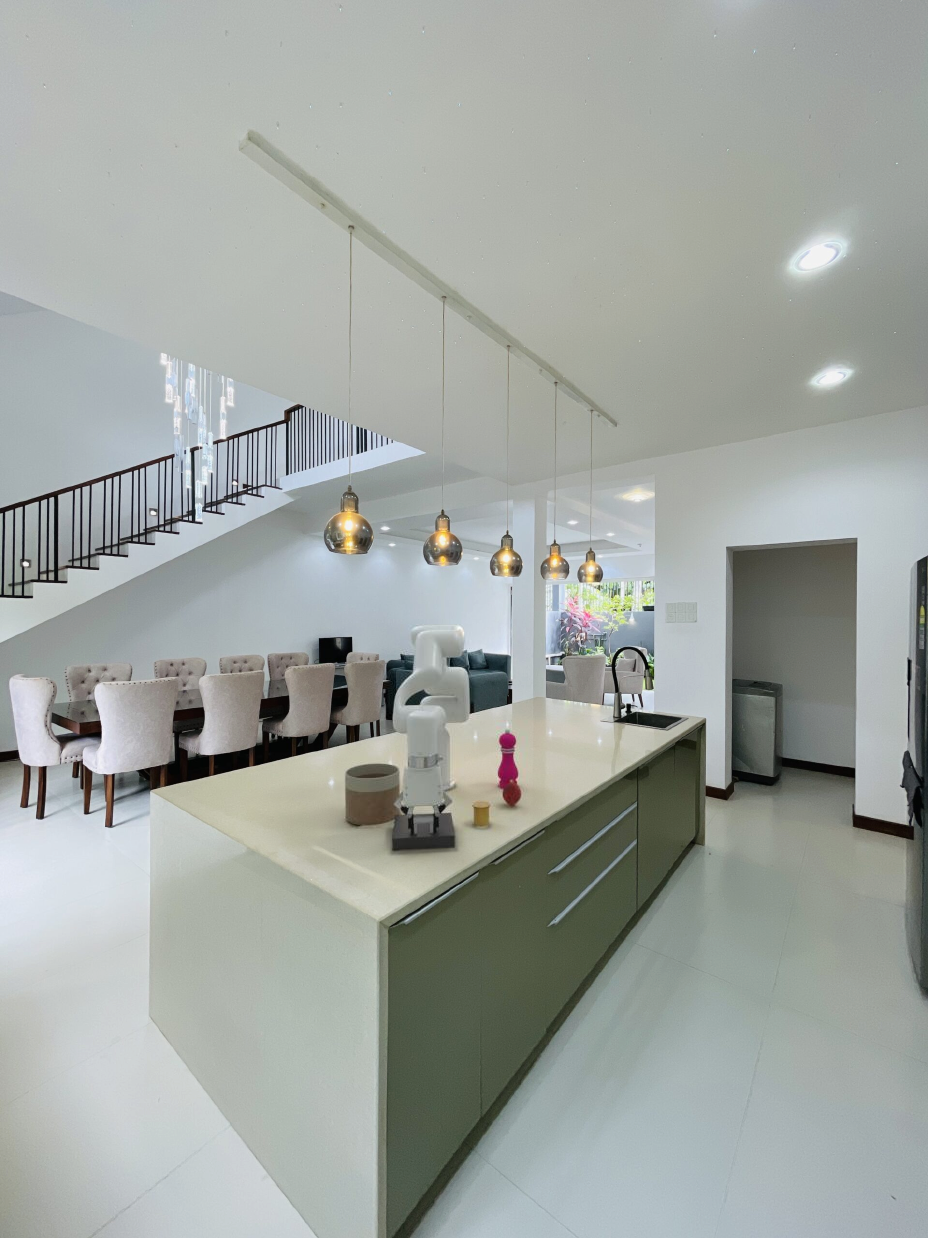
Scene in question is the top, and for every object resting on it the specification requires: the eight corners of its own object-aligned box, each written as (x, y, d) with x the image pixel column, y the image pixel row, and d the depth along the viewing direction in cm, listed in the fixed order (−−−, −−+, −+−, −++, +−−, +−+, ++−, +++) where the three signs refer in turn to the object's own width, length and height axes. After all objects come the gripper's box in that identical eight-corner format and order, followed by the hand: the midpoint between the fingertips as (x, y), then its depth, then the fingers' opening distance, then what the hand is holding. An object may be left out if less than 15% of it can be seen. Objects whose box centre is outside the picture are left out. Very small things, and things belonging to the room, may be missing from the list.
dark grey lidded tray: (454, 850, 129) (454, 837, 129) (392, 853, 128) (392, 840, 128) (451, 827, 144) (451, 815, 144) (395, 830, 143) (395, 818, 143)
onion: (520, 809, 157) (519, 783, 157) (501, 808, 158) (501, 782, 158) (522, 803, 162) (521, 777, 163) (503, 802, 164) (503, 777, 164)
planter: (353, 832, 142) (353, 781, 142) (339, 813, 156) (339, 767, 156) (407, 821, 149) (407, 773, 149) (389, 804, 163) (389, 760, 163)
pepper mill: (496, 783, 183) (495, 727, 183) (516, 782, 183) (515, 726, 183) (499, 790, 176) (498, 731, 176) (520, 789, 176) (519, 730, 176)
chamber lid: (455, 838, 129) (454, 819, 129) (392, 841, 127) (391, 822, 127) (451, 815, 144) (451, 798, 144) (395, 818, 143) (394, 800, 143)
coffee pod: (469, 826, 145) (468, 805, 145) (480, 821, 148) (479, 800, 148) (482, 830, 141) (482, 809, 141) (493, 825, 145) (493, 804, 145)
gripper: (454, 754, 136) (455, 823, 136) (389, 757, 134) (390, 826, 135) (456, 763, 128) (457, 835, 129) (387, 766, 127) (389, 839, 127)
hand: (423, 830), depth 132 cm, fingers closed on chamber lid, 5 cm apart
